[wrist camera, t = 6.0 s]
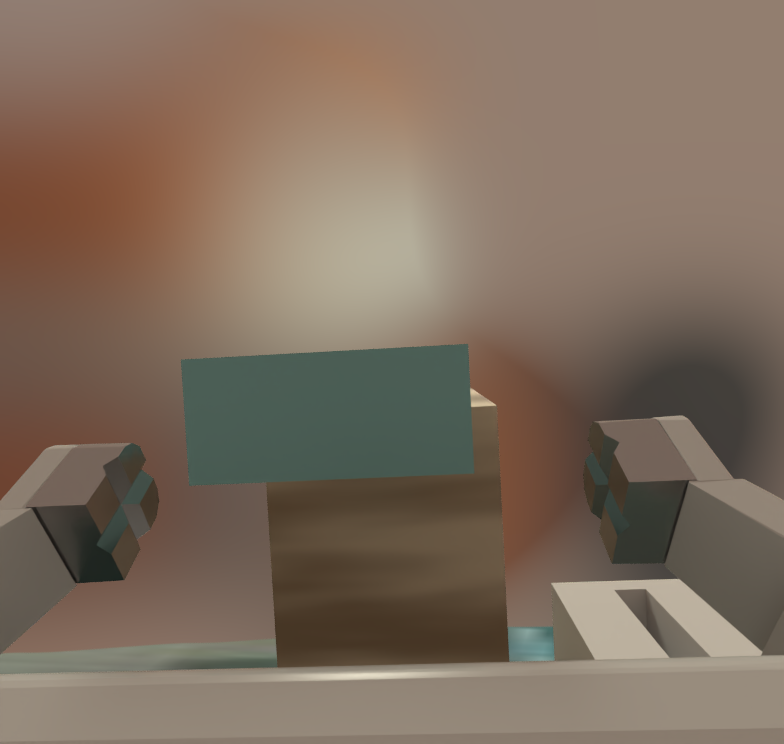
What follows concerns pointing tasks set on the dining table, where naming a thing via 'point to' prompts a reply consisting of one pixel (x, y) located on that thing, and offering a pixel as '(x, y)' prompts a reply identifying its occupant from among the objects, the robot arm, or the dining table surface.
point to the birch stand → (392, 564)
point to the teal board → (328, 415)
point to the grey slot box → (639, 622)
